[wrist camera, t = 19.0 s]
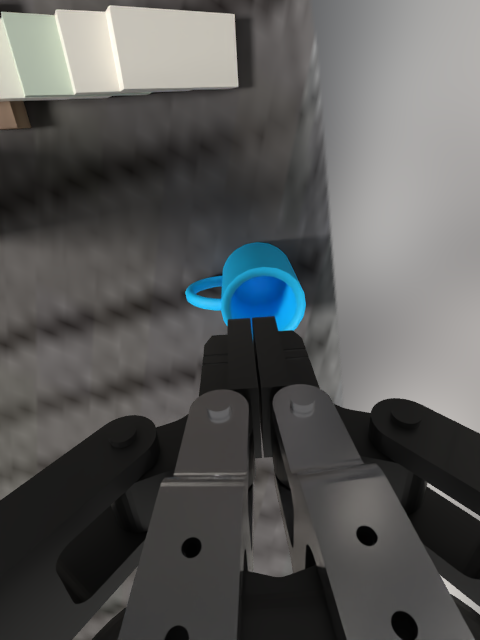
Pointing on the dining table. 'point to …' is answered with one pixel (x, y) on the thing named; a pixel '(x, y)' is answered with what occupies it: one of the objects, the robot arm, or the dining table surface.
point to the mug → (255, 287)
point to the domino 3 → (89, 52)
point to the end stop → (13, 115)
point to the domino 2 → (40, 56)
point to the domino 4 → (172, 49)
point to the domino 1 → (4, 78)
